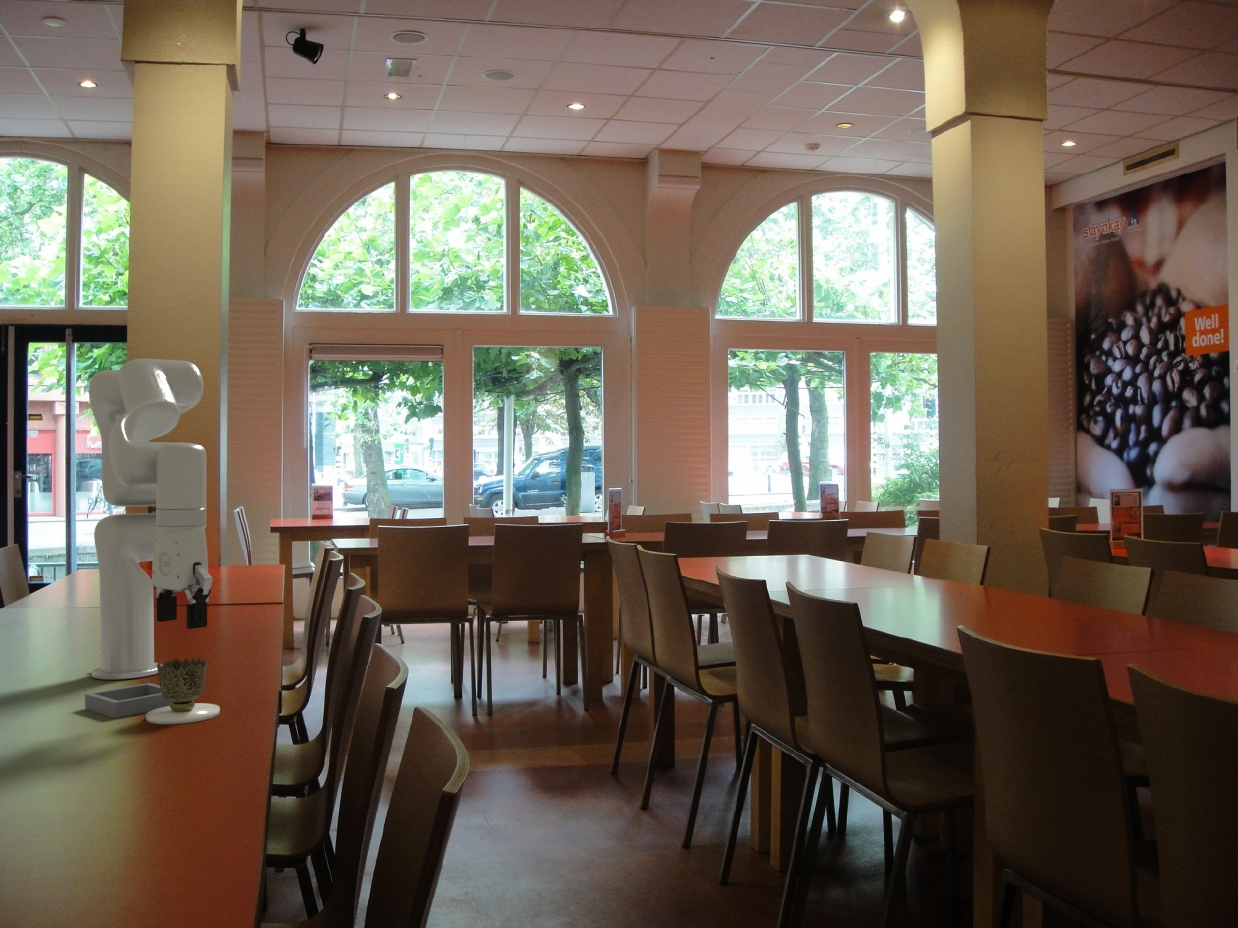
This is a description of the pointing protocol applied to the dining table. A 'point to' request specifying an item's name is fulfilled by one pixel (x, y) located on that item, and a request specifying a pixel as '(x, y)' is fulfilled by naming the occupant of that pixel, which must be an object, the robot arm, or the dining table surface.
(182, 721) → the coaster
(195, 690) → the ornate bronze lamp shade
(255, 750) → the dining table surface
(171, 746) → the dining table surface
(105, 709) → the pocket frame
